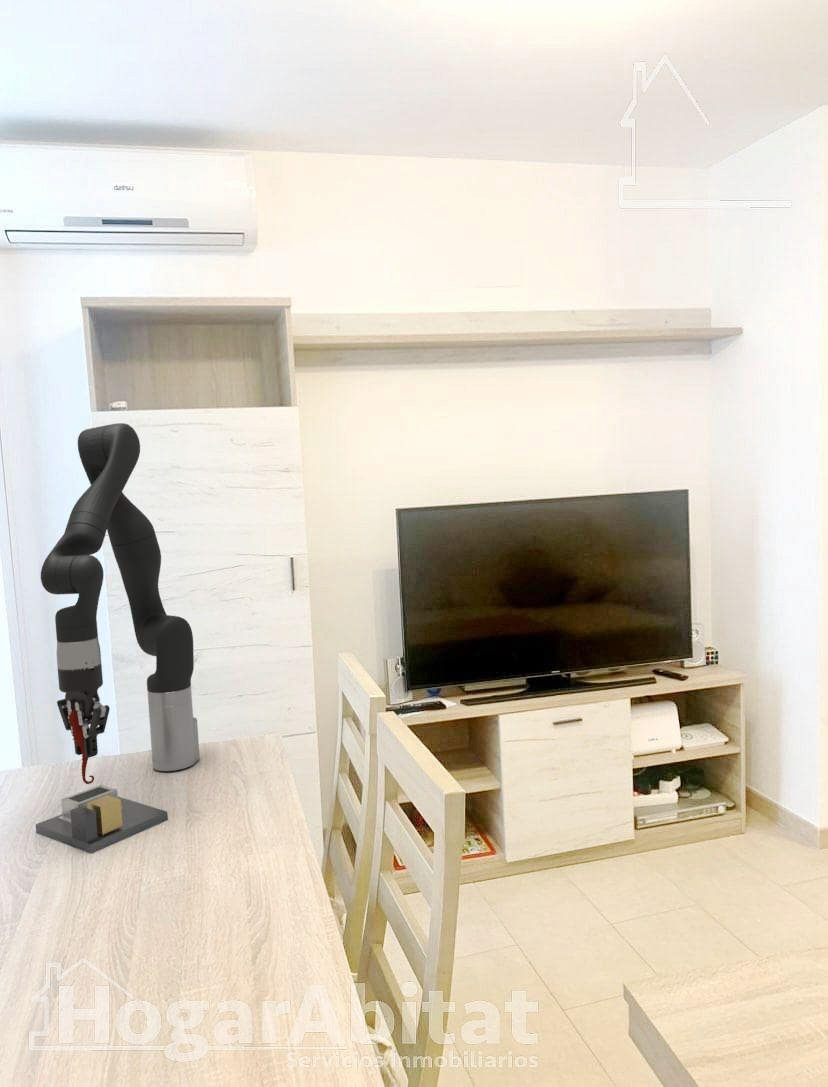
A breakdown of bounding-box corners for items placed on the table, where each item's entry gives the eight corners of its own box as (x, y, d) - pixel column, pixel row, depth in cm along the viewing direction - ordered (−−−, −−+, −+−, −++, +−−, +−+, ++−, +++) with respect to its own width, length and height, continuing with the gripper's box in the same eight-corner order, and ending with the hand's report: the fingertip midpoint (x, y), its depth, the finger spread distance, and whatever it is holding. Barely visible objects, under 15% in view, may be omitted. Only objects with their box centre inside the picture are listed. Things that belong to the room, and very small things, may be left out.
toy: (104, 782, 152) (98, 703, 151) (73, 789, 150) (67, 709, 148) (102, 779, 154) (96, 701, 153) (72, 785, 152) (65, 706, 151)
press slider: (109, 821, 147) (107, 795, 147) (122, 826, 145) (120, 799, 145) (89, 830, 144) (87, 802, 144) (102, 834, 142) (100, 807, 142)
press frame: (113, 802, 162) (110, 770, 161) (167, 819, 152) (165, 785, 151) (36, 832, 149) (33, 797, 148) (90, 853, 139) (87, 816, 138)
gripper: (39, 664, 151) (46, 755, 153) (82, 671, 143) (90, 767, 144) (76, 656, 157) (83, 743, 159) (120, 662, 149) (126, 754, 151)
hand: (86, 754), depth 152 cm, fingers closed on toy, 2 cm apart
